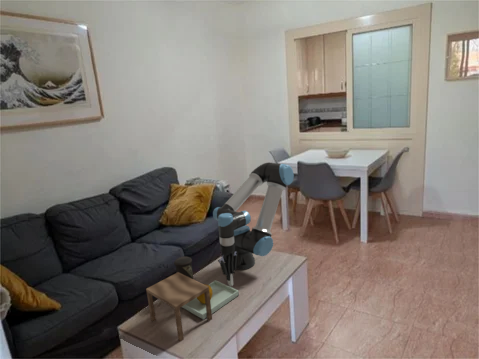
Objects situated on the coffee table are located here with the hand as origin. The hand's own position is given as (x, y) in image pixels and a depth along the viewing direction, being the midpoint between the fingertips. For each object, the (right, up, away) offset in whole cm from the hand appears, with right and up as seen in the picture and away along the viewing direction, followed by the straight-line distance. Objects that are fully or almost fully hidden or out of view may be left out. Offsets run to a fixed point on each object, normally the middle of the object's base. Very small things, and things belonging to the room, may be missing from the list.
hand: (230, 284), depth 176 cm
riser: (-22, -9, -23) cm, 33 cm away
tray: (-10, -5, -10) cm, 15 cm away
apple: (-12, -5, -12) cm, 18 cm away
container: (-23, -4, -3) cm, 23 cm away
